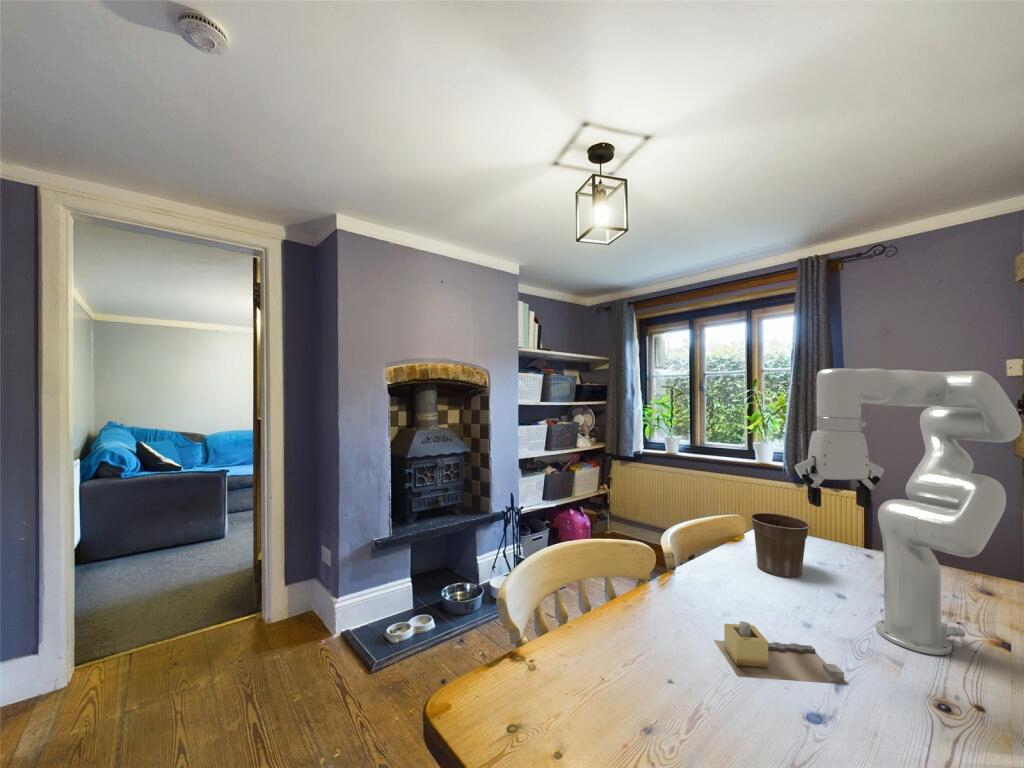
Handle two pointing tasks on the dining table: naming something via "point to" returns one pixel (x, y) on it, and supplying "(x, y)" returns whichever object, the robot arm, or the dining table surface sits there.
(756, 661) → the end link
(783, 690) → the dining table surface
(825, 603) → the dining table surface
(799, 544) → the plant pot
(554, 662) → the dining table surface
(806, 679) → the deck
